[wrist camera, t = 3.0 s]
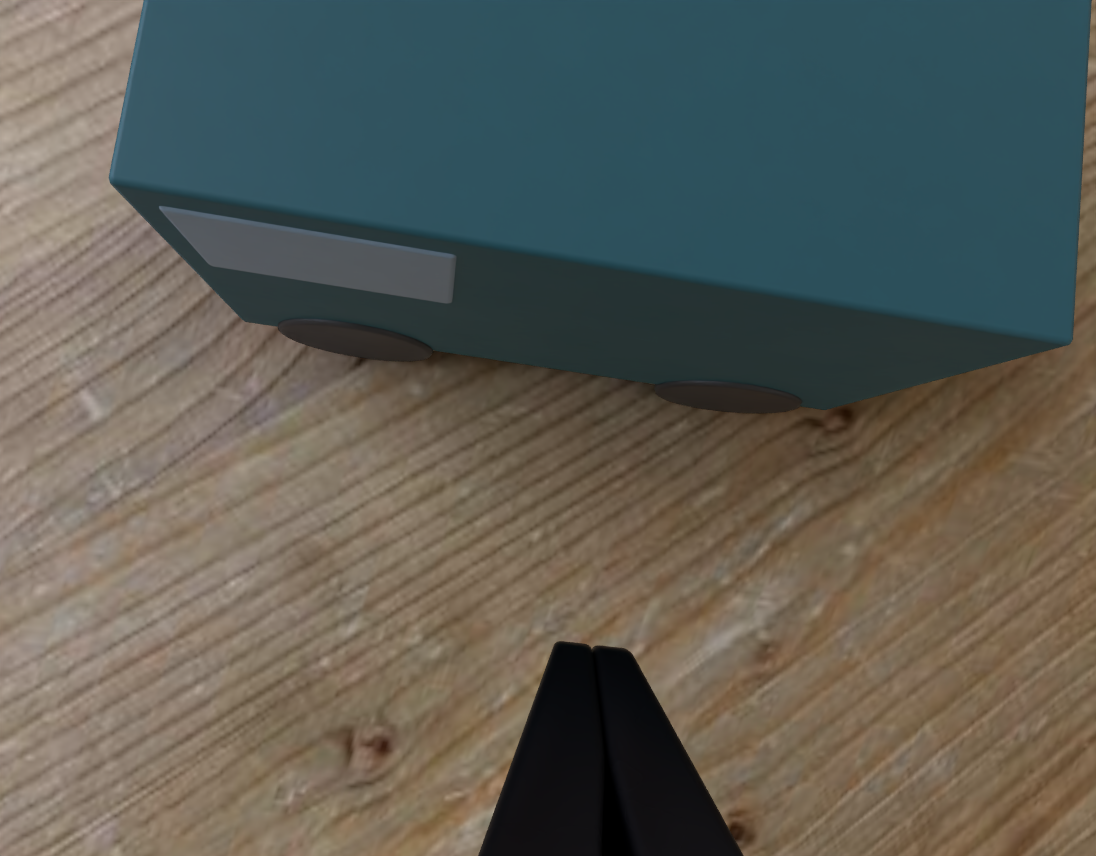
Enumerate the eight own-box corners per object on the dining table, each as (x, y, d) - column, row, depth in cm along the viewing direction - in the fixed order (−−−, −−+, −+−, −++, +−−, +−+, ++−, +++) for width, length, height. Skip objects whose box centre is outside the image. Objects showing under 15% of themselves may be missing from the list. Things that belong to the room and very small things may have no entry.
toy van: (820, 165, 20) (1099, -85, 12) (796, 423, 19) (1075, 353, 11) (304, 67, 19) (199, -299, 10) (257, 342, 18) (102, 190, 9)
